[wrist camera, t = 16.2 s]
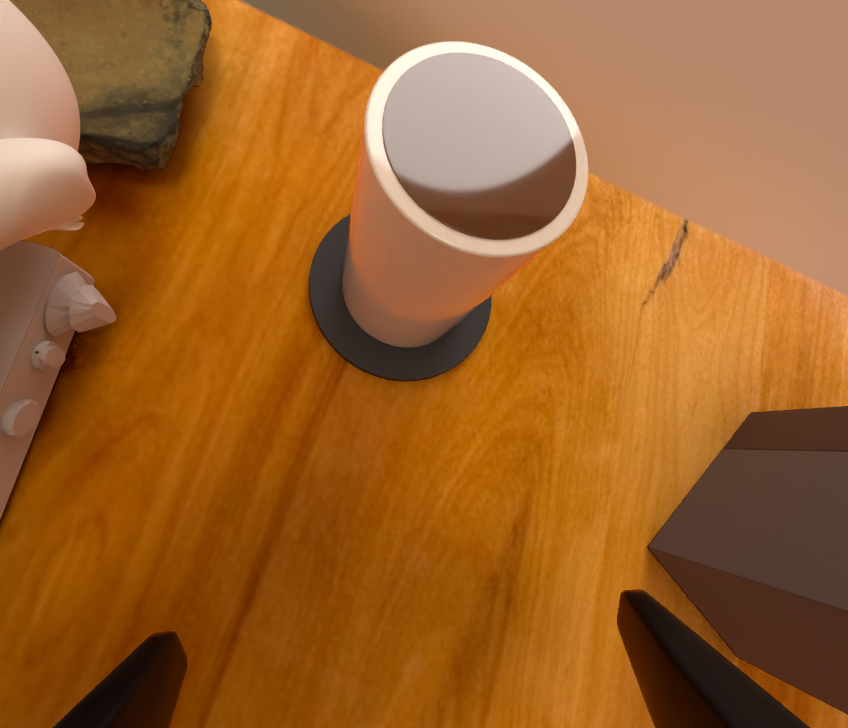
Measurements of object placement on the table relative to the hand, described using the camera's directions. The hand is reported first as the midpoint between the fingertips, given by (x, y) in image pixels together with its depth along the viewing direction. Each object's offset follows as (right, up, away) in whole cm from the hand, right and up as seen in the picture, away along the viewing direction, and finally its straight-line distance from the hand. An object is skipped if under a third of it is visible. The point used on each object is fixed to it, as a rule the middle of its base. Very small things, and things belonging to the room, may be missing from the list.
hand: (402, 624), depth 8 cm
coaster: (-1, +9, +11) cm, 14 cm away
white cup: (0, +9, +10) cm, 14 cm away
